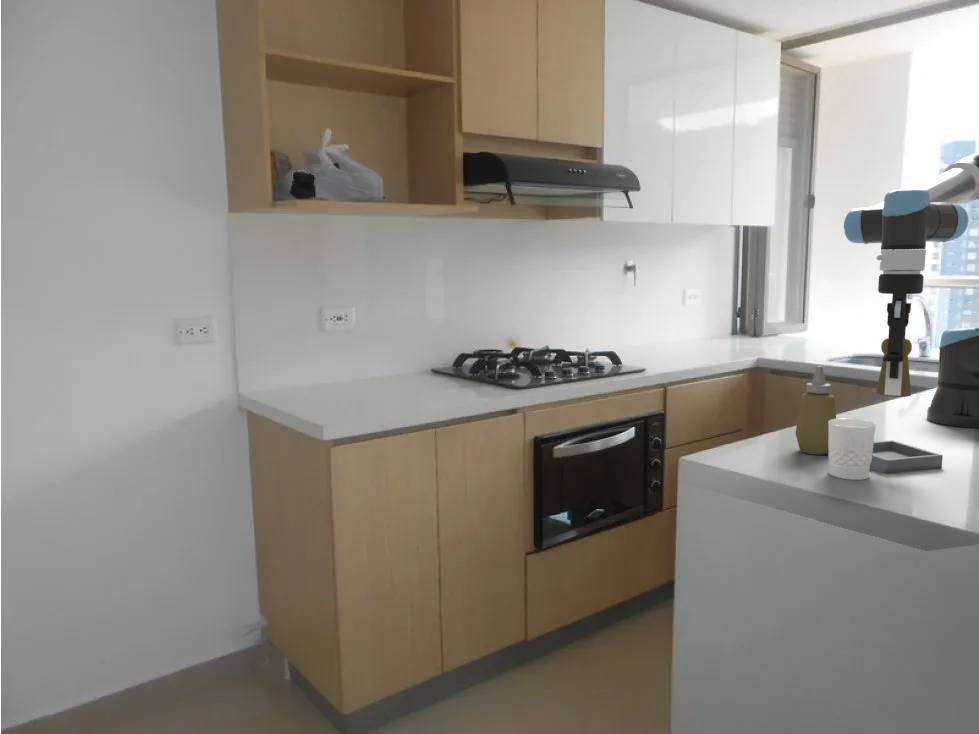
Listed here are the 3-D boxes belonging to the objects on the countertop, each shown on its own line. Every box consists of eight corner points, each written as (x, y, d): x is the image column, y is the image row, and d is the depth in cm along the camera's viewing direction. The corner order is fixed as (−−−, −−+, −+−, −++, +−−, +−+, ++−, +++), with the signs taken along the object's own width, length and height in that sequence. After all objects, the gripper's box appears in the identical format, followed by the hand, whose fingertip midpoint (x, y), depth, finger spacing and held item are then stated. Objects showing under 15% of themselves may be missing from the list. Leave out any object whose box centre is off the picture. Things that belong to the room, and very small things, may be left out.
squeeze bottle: (808, 457, 152) (812, 370, 149) (786, 448, 160) (790, 364, 157) (844, 455, 153) (849, 368, 151) (821, 446, 161) (825, 363, 159)
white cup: (878, 482, 135) (881, 428, 134) (832, 480, 137) (834, 426, 135) (864, 470, 143) (867, 418, 142) (820, 468, 144) (823, 417, 143)
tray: (891, 451, 156) (892, 440, 155) (941, 467, 143) (942, 455, 143) (839, 456, 152) (840, 444, 152) (886, 473, 140) (887, 460, 140)
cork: (904, 391, 148) (908, 336, 147) (915, 397, 142) (919, 339, 141) (872, 391, 150) (875, 336, 148) (881, 396, 144) (884, 339, 142)
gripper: (882, 271, 153) (875, 383, 156) (875, 273, 137) (868, 398, 140) (924, 271, 149) (916, 386, 152) (923, 273, 133) (914, 402, 136)
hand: (893, 392), depth 146 cm, fingers closed on cork, 6 cm apart
